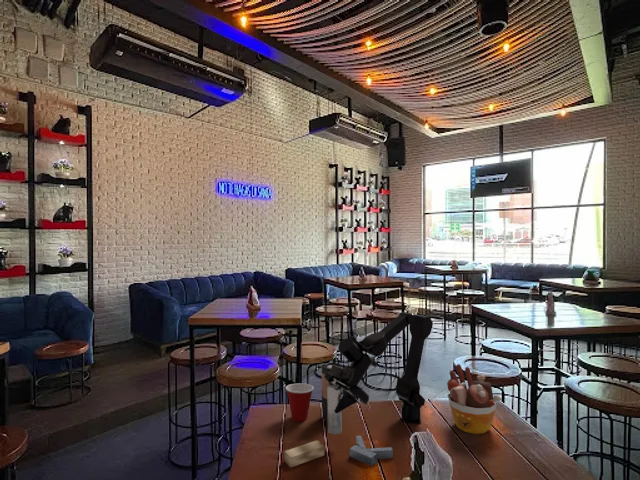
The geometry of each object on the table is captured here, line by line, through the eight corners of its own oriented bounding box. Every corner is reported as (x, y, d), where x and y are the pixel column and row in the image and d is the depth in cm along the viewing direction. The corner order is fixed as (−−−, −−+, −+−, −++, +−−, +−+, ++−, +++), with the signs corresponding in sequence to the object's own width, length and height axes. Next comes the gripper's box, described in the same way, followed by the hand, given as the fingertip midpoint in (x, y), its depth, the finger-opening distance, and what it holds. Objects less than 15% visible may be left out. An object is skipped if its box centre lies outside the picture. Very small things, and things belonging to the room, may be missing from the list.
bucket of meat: (509, 439, 127) (508, 380, 127) (462, 442, 125) (462, 382, 125) (478, 412, 147) (477, 362, 147) (437, 415, 145) (437, 363, 145)
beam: (317, 449, 121) (317, 440, 121) (324, 455, 118) (324, 445, 118) (284, 461, 115) (284, 451, 115) (290, 467, 111) (290, 457, 111)
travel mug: (340, 423, 138) (339, 369, 138) (319, 421, 140) (319, 368, 140) (342, 414, 146) (342, 363, 146) (323, 412, 147) (323, 361, 147)
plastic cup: (317, 413, 146) (317, 383, 146) (308, 426, 136) (307, 393, 136) (292, 409, 150) (292, 379, 150) (281, 422, 140) (280, 390, 140)
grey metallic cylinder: (342, 427, 124) (342, 385, 124) (340, 434, 120) (340, 390, 120) (328, 426, 125) (328, 384, 125) (326, 433, 121) (326, 390, 121)
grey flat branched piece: (358, 441, 125) (358, 434, 125) (394, 456, 117) (394, 448, 117) (342, 453, 119) (342, 445, 119) (379, 469, 110) (379, 461, 110)
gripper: (328, 349, 133) (301, 386, 127) (361, 363, 117) (332, 407, 111) (346, 367, 137) (321, 404, 131) (380, 383, 121) (354, 426, 115)
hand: (331, 409), depth 122 cm, fingers closed on grey metallic cylinder, 5 cm apart
